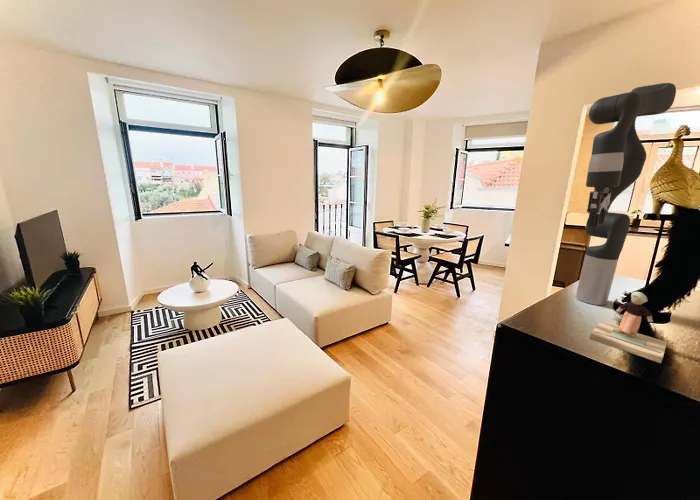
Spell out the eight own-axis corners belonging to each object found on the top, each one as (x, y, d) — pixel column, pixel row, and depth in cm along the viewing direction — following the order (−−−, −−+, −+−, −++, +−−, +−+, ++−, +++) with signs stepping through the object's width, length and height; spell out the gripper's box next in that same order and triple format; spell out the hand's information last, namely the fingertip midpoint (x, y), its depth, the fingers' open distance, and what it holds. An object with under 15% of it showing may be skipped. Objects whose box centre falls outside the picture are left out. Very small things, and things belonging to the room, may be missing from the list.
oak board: (599, 326, 88) (600, 321, 88) (665, 347, 78) (667, 341, 77) (589, 338, 81) (590, 333, 80) (660, 363, 70) (662, 357, 70)
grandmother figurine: (608, 330, 83) (619, 289, 80) (612, 326, 85) (623, 286, 82) (645, 342, 76) (659, 298, 73) (648, 338, 79) (662, 295, 76)
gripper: (616, 169, 76) (606, 229, 80) (626, 169, 85) (617, 223, 89) (581, 171, 82) (573, 227, 86) (594, 170, 90) (586, 221, 94)
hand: (595, 225), depth 87 cm, fingers open, 8 cm apart
